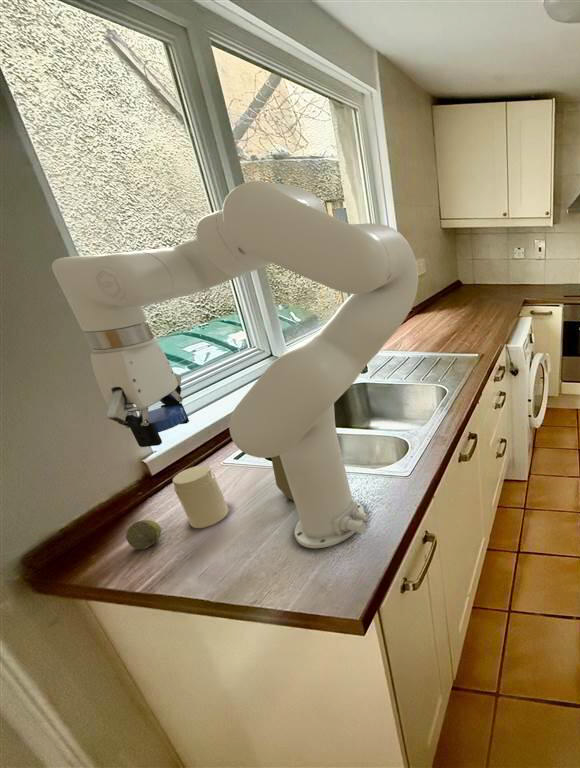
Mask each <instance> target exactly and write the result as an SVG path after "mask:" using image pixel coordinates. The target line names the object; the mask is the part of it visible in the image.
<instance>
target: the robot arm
mask: <svg viewBox="0 0 580 768" xmlns="http://www.w3.org/2000/svg"><path fill="white" fill-rule="evenodd" d="M195 236H196V238H194V239H191V240H188V241H185V242H184V243H181V244H178V245H175V246H172V247H167V248H154V249H144V250H135V251H134V250H133V251H127V252H126V251H125V252H124V251H123V252H117V253H109V254H86V255H74V256H65V257H60V258H57V259H54V261H53V262H52V263H51V270H52V272H53V274H54V276H55V279H56V280H57V283H58V285H59V287H60V289H61V290H62V293H63V295H64V297H65V299H66V301H67V302H68V305H69V306H70V309H71V311H72V312H73V315H74V317H75V318H76V320H77V323H78V325H79V327H80V329H81V331H82V333H83V335H84V337H85V338H86V341H87V343H88V345H89V347H90V349H91V350H92V352H91V353H90V361H91V366H92V370H93V374H94V377H95V379H96V382H97V385H98V387H99V389H100V392H101V394H102V396H103V397H102V398H103V399H104V401H105V403H106V405H107V407H108V408H107V412H106V418H107V419H109V420H111V421H114V422H116V423H117V424H119V425H122V426H124V427H125V428H126V429H130V430H131V433H132V434H133V436H134V438H135V441H136V443H137V445H138V446H139V447H140V448H148V447H156V446H161V445H162V444H163V440H162V438H161V436H160V434H159V432H158V431H157V429H156V427H155V425H154V423H149V411H150V410H149V407H151V406H153V405H154V404H156V403H157V402H160V403H161V405H160V408H163V407H168V406H180V407H182V409H183V410H184V412H185V414H186V417H187V418H186V419H185V421H183V422H182V423H181V424H180V425H185V424H188V423H189V422H190V418H189V417H188V414H187V412H186V409H185V407H184V404H183V403H182V402H183V401H184V399H183V397H182V396H181V394H182V387H181V385H182V377H181V375H180V374H178V373H176V372H174V370H173V368H172V365H171V363H170V361H169V359H168V357H167V356H166V354H165V352H164V351H163V349H162V347H161V345H160V343H158V341H157V339H156V338H155V335H154V332H153V331H152V328H151V326H150V323H149V321H148V319H147V316H146V314H145V311H144V309H143V307H146V306H150V305H154V304H158V303H163V302H165V301H170V300H173V299H178V298H182V297H183V298H184V297H188V296H191V295H194V294H197V293H200V292H203V291H205V290H208V289H211V288H214V287H217V286H219V285H222V284H224V283H227V282H229V281H231V280H234V279H237V278H241V277H243V276H244V275H247V274H250V273H253V272H255V271H257V270H259V269H262V268H264V267H267V266H269V265H272V264H273V265H276V266H277V267H280V268H282V269H284V270H287V271H290V272H292V273H294V274H296V275H299V276H301V277H303V278H306V279H308V280H310V281H313V282H315V283H317V284H320V285H321V286H325V287H327V288H328V289H329V288H330V289H332V290H334V291H337V292H340V293H344V294H350V296H348V297H347V298H346V300H344V302H342V304H341V305H340V306H338V307H339V308H338V309H336V311H335V313H334V314H333V315H332V316H331V318H330V319H329V320H328V321H327V322H326V323H325V324H324V326H322V327H321V329H319V330H318V331H317V332H316V333H315V334H313V335H312V336H309V337H308V338H306V339H304V340H303V341H301V342H300V343H298V344H296V345H294V346H293V347H291V348H289V349H288V350H286V351H285V352H283V353H281V355H279V356H278V357H277V358H276V359H275V360H274V361H273V362H271V363H270V365H269V366H268V367H267V368H266V369H265V371H264V372H263V373H262V374H261V375H260V377H258V379H257V380H256V381H255V382H254V384H253V385H252V386H251V388H250V389H249V390H248V391H247V393H245V395H244V396H243V397H242V399H241V400H240V401H239V402H238V404H237V405H236V406H235V408H234V409H233V411H232V413H231V414H230V418H229V422H228V429H229V435H230V438H231V440H232V442H233V444H234V445H235V446H236V447H237V448H238V449H239V450H240V451H241V452H243V453H244V454H246V455H248V456H251V457H254V458H259V459H269V458H271V457H276V456H279V455H280V458H281V461H282V465H283V468H284V472H285V475H286V478H287V481H288V484H289V487H290V490H291V493H292V496H293V499H294V500H293V502H294V506H295V508H296V510H297V515H298V518H299V519H298V521H297V523H296V524H295V526H294V533H293V534H294V537H295V540H296V541H297V543H298V544H299V545H300V546H302V547H305V548H307V549H322V548H323V549H324V548H327V547H332V546H335V545H337V544H340V543H342V542H344V541H346V540H347V539H350V537H352V536H353V535H354V534H355V533H357V534H363V533H364V532H365V531H366V530H367V529H366V528H367V523H366V521H368V520H369V517H370V515H369V513H367V512H365V509H364V506H363V505H362V503H361V502H360V501H358V500H355V499H353V496H352V492H351V487H350V482H349V479H348V475H347V470H346V467H345V463H344V459H343V454H342V451H341V446H340V442H339V438H338V433H337V427H336V417H335V403H336V402H337V401H338V400H339V399H340V398H341V397H342V396H343V395H344V394H345V392H347V390H348V389H349V388H351V386H352V385H353V384H354V383H355V382H356V380H357V379H358V378H359V376H360V374H361V373H362V371H364V369H365V368H366V367H367V365H368V364H369V363H370V362H371V361H372V359H373V358H375V356H377V354H378V353H379V352H380V351H381V350H382V349H383V347H384V346H385V345H386V344H387V342H389V340H390V339H391V338H392V337H393V335H394V334H395V333H396V332H397V330H398V329H399V328H400V327H401V326H402V325H403V323H404V321H405V320H406V319H407V318H408V316H409V313H410V312H411V310H412V307H413V305H414V303H415V300H416V297H417V292H418V286H419V270H418V269H419V268H418V263H417V260H416V257H415V254H414V251H413V249H412V247H411V245H410V244H409V242H408V240H407V239H406V238H405V237H404V236H403V234H402V233H400V232H399V231H398V230H396V229H395V228H393V227H391V226H389V225H385V224H381V223H376V222H375V223H371V222H368V223H349V222H347V221H344V220H342V219H340V218H338V217H336V216H333V215H331V214H329V213H328V211H327V209H326V207H325V205H324V204H323V202H321V200H320V199H319V197H317V196H316V195H314V193H312V192H310V191H309V190H307V189H305V188H303V187H300V186H297V185H292V184H287V183H277V182H271V181H261V180H253V181H247V182H243V183H241V184H239V185H237V186H235V187H234V188H233V189H231V190H230V191H229V192H228V194H227V195H226V196H225V199H224V201H223V205H222V209H219V210H216V211H214V212H212V213H209V214H206V215H205V216H202V217H201V218H199V220H198V221H197V223H196V226H195ZM133 405H135V406H133ZM135 412H138V416H139V417H138V416H135V414H134V413H135Z"/></svg>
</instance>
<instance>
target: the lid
mask: <svg viewBox="0 0 580 768" xmlns="http://www.w3.org/2000/svg"><path fill="white" fill-rule="evenodd" d="M184 410H185V409H184ZM184 410H183V409H182V407H180V406H168V407H163V408H161V407H158V408H154V409H152V410H148V411H149V423H154V425H155V427H156V429H157V431H158V433H161V432H164V431H168V430H170V429H173V428H175V427H177V426H179V425H182V424H181V423H182V422H183V421H185V419H186V418H187V417H188V416H187V417H186V414H187V413H186V414H185V412H186V411H185V412H184ZM137 417H139V415H138V416H137Z"/></svg>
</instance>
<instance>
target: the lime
mask: <svg viewBox="0 0 580 768" xmlns="http://www.w3.org/2000/svg"><path fill="white" fill-rule="evenodd" d="M161 534H162V528H161V526H160V525H159V524H158V523H157V522H156V521H153V520H150V519H142V520H138V521H135V522H134V523H133V524H131V525H130V526H129V527H128V529H127V531H126V534H125V539H126V541H127V543H128V545H129V546H131V548H134V549H136V550H144V549H148V548H149V547H151V546H152V545H154V544H156V543H157V542H158V540H159V539H160V537H161Z"/></svg>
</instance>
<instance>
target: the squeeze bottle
mask: <svg viewBox="0 0 580 768" xmlns="http://www.w3.org/2000/svg"><path fill="white" fill-rule="evenodd" d="M271 464H272V469H273V474H274V478H275V484H276V486H277V488H278V489H279V490H280V492H282V494H284V496H285V497H286V498H287V499H289V500H292V501H294V499H293V496H292V493H291V490H290V487H289V484H288V481H287V478H286V475H285V472H284V468H283V465H282V461H281V458H280V455H279V456H276V457H271Z"/></svg>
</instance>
